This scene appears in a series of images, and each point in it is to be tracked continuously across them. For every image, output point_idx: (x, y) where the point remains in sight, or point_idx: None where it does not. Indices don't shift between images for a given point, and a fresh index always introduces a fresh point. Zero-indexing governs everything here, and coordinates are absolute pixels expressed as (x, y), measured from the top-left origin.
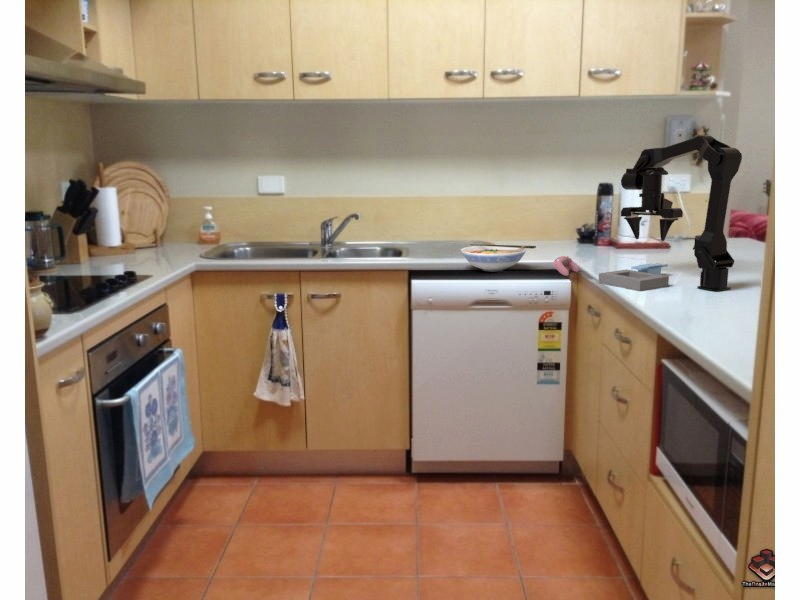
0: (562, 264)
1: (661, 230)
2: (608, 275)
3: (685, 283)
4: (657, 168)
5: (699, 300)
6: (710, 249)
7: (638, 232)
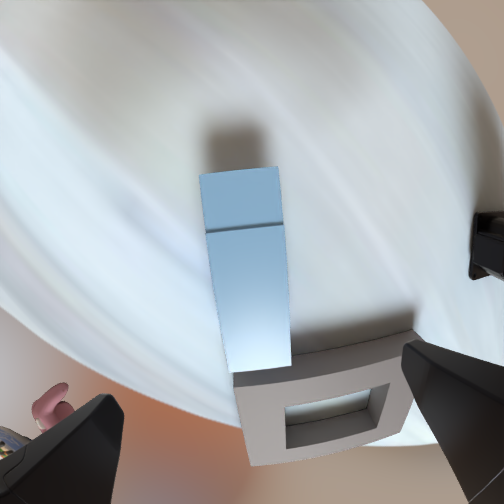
0: None
1: (461, 453)
2: (290, 460)
3: (419, 243)
4: None
5: (492, 353)
6: None
7: (89, 443)
